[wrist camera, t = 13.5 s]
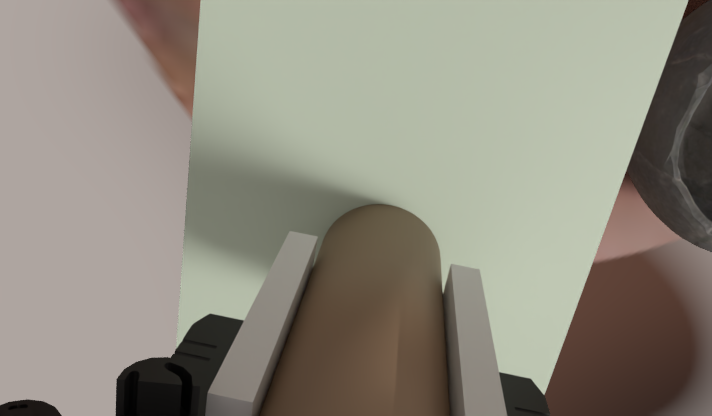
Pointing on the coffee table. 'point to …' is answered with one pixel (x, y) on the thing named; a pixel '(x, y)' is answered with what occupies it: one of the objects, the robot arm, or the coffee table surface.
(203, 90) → the lid
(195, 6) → the coffee table surface
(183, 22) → the coffee table surface
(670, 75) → the bowl
